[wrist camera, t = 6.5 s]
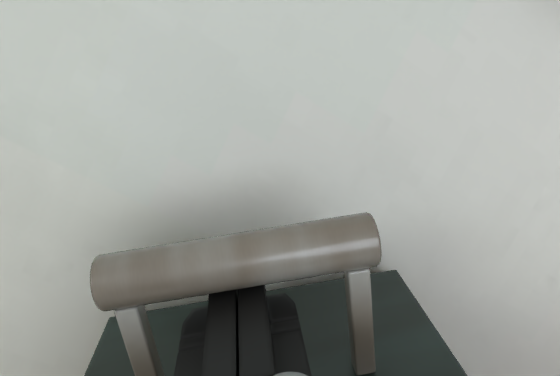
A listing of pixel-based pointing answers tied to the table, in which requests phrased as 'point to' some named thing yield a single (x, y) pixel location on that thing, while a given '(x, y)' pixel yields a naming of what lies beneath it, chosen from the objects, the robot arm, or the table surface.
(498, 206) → the table surface
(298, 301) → the drawer
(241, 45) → the table surface
